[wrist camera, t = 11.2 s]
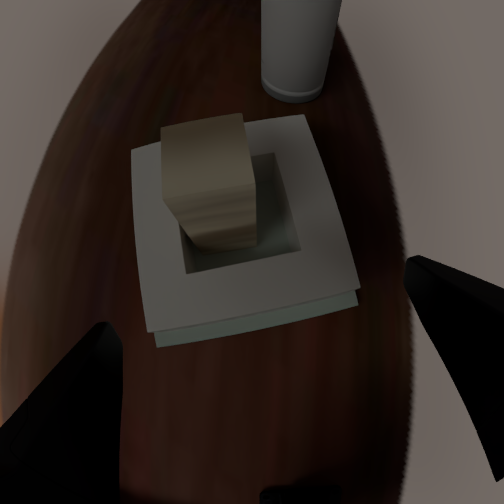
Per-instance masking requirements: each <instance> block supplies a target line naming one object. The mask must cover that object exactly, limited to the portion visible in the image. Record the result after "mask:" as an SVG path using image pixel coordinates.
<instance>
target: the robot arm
mask: <svg viewBox="0 0 504 504" xmlns="http://www.w3.org/2000/svg"><path fill="white" fill-rule="evenodd" d="M403 283H404V287H405V289H406V291H407V293H408V295H409V297H410V299H411V301H412V303H413V306H414V308H415V310H416V312H417V314H418V316H419V319H420V321H421V323H422V325H423V326H424V328H425V330H426V332H427V334H428V335H429V337H430V339H431V341H432V342H433V344H434V346H435V348H436V349H437V351H438V353H439V355H440V357H441V359H442V361H443V362H444V364H445V366H446V368H447V370H448V372H449V374H450V376H451V378H452V380H453V382H454V384H455V386H456V388H457V390H458V392H459V394H460V396H461V398H462V400H463V402H464V404H465V406H466V408H467V411H468V413H469V415H470V417H471V420H472V422H473V424H474V426H475V429H476V430H477V434H478V436H479V439H480V441H481V443H482V446H483V449H484V451H485V454H486V456H487V459H488V462H489V464H490V467H491V470H492V473H493V475H494V478H495V480H496V482H498V481H499V480H501V479H503V478H504V289H503V288H501V287H499V286H496V285H494V284H492V283H489V282H487V281H484V280H482V279H479V278H477V277H475V276H472V275H470V274H467V273H465V272H462V271H459V270H457V269H455V268H452V267H449V266H447V265H444V264H441V263H439V262H436V261H433V260H431V259H428V258H426V257H423V256H420V255H416V256H413V257H409V258H408V259H407V261H406V265H405V272H404V279H403ZM122 395H123V345H122V342H121V339H120V338H119V336H118V334H117V333H116V331H115V329H114V328H113V326H112V324H111V323H110V322H108V321H106V322H99V323H96V324H95V325H94V326H93V327H92V328H91V329H90V330H89V331H88V332H87V333H86V334H85V335H84V336H83V337H82V339H81V340H80V341H79V342H78V343H77V344H76V345H75V346H74V347H73V348H72V349H71V350H70V351H69V352H68V353H67V354H66V355H65V356H64V357H63V359H62V360H61V361H60V362H59V363H58V364H57V365H56V366H55V367H54V368H53V369H52V370H51V372H50V373H49V374H48V375H47V376H46V377H45V378H44V379H43V380H42V381H41V383H40V384H39V385H38V386H37V387H36V388H35V389H34V390H33V392H32V393H31V394H30V395H29V396H28V399H26V400H25V401H24V402H23V403H22V404H21V405H20V407H19V408H18V409H17V410H16V411H15V412H14V413H13V414H12V416H11V417H10V418H9V419H8V420H7V421H6V422H5V423H4V424H3V425H2V426H1V427H0V504H120V494H119V449H120V425H121V409H122ZM334 490H337V491H336V492H333V491H334ZM341 494H342V489H341V487H340V486H338V485H334V486H326V487H307V488H294V489H287V490H266V491H262V492H261V493H260V503H259V504H340V501H341ZM264 495H268V497H264Z"/></svg>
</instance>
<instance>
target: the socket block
mask: <svg viewBox="0 0 504 504" xmlns="http://www.w3.org/2000/svg"><path fill="white" fill-rule="evenodd" d="M244 126H245V132H246V137H247V142H248V147H249V152H250V157H251V162H252V168H253V173H254V178H255V184H256V229H257V247H253V248H247V249H241V250H235V251H229V252H222V253H216V254H210V255H204V256H203V255H202V254H201V252H200V251H199V250H198V248H197V247H196V246H195V244H194V243H193V241H192V240H191V239H190V237H189V236H188V235H187V233H186V232H185V230H184V229H183V228H182V226H181V225H180V224H179V222H178V221H177V219H176V218H175V217H174V215H173V214H172V212H171V211H170V210H169V208H168V207H167V205H166V204H165V203H164V201H163V200H162V177H161V142H157V143H153V144H150V145H146V146H143V147H139V148H136V149H133V150H131V166H132V196H133V214H134V229H135V241H136V251H137V261H138V270H139V278H140V286H141V294H142V301H143V307H144V314H145V320H146V326H147V332H154V335H155V340H156V345H157V347H163V346H170V345H177V344H183V343H189V342H195V341H201V340H207V339H212V338H218V337H223V336H229V335H234V334H239V333H244V332H249V331H254V330H258V329H263V328H268V327H272V326H277V325H281V324H286V323H290V322H294V321H299V320H303V319H307V318H311V317H315V316H319V315H323V314H327V313H331V312H335V311H338V310H342V309H346V308H350V307H353V306H357V305H358V301H357V297H356V293H355V290H356V289H359V288H361V287H360V283H359V279H358V275H357V272H356V268H355V264H354V261H353V257H352V253H351V250H350V246H349V243H348V239H347V236H346V233H345V229H344V226H343V223H342V220H341V216H340V213H339V210H338V207H337V204H336V201H335V198H334V195H333V192H332V189H331V186H330V183H329V180H328V177H327V174H326V171H325V169H324V166H323V163H322V160H321V158H320V155H319V152H318V149H317V147H316V144H315V142H314V139H313V136H312V134H311V131H310V129H309V126H308V124H307V121H306V119H305V116H304V114H303V115H295V116H287V117H279V118H272V119H266V120H259V121H253V122H247V123H244Z"/></svg>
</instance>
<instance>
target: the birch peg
mask: <svg viewBox="0 0 504 504" xmlns="http://www.w3.org/2000/svg"><path fill="white" fill-rule="evenodd" d="M161 177H162V200H163V201H164V203H165V204H166V205H167V207H168V208H169V210H170V211H171V212H172V214H173V215H174V217H175V218H176V219H177V221H178V222H179V224H180V225H181V226H182V228H183V229H184V230H185V232H186V233H187V235H188V236H189V237H190V239H191V240H192V241H193V243H194V244H195V246H196V247H197V248H198V250H199V251H200V252H201V254H202V255H203V256H204V255H210V254H216V253H222V252H229V251H235V250H241V249H247V248H253V247H257V229H256V184H255V178H254V173H253V168H252V162H251V157H250V152H249V147H248V142H247V137H246V132H245V126H244V121H243V116H242V113H237V114H230V115H224V116H218V117H212V118H206V119H201V120H195V121H190V122H185V123H181V124H176V125H171V126H167V127H162V128H161Z"/></svg>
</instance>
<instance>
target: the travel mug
mask: <svg viewBox="0 0 504 504" xmlns="http://www.w3.org/2000/svg"><path fill="white" fill-rule="evenodd" d="M341 2H342V0H261V15H262V58H261V70H262V73H261V82H262V86H263V88H264V90H265V91H266V92H267V93H268V94H269V95H271V96H272V97H274V98H276V99H278V100H280V101H284V102H288V103H304V102H308V101H311V100H313V99H315V98H317V97H318V96H319V95H320V93H321V92H322V88H323V84H324V79H325V75H326V71H327V67H328V62H329V58H330V53H331V49H332V44H333V40H334V35H335V31H336V26H337V21H338V17H339V12H340V7H341Z"/></svg>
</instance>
